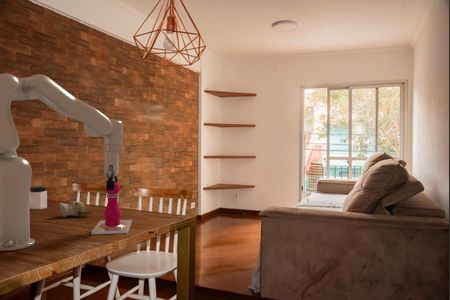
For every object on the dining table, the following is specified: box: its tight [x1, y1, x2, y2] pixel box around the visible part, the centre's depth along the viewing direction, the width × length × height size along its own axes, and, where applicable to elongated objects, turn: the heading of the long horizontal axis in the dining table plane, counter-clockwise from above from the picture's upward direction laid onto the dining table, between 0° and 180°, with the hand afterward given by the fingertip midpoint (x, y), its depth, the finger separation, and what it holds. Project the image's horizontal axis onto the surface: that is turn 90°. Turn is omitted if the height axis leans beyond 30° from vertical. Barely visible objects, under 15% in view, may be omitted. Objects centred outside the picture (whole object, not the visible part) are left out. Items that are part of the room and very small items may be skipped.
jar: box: [30, 185, 48, 210], centre depth 193 cm, size 9×8×12 cm
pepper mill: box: [103, 179, 122, 226], centre depth 148 cm, size 7×7×20 cm
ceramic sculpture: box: [58, 199, 93, 218], centre depth 173 cm, size 11×9×15 cm
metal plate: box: [90, 219, 133, 236], centre depth 149 cm, size 20×14×1 cm
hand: (112, 188), depth 148 cm, fingers open, 9 cm apart
